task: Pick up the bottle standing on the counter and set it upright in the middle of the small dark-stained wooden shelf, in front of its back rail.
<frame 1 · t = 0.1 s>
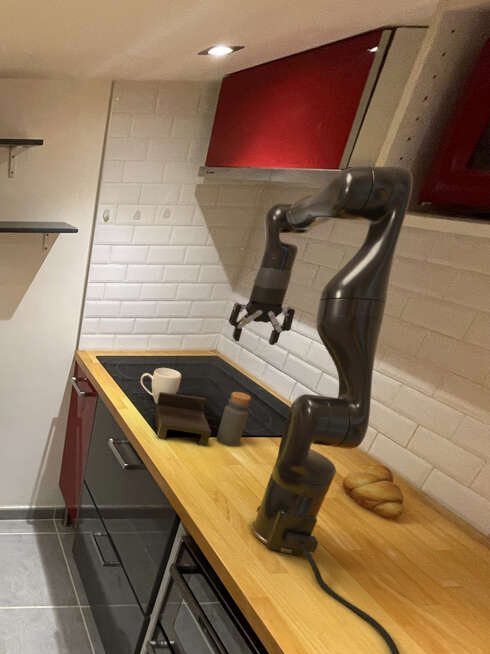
hand: (253, 342, 123), 29 cm above the worktop, tool pointing down, fingers open, 8 cm apart
bread roll: (368, 503, 106), on the worktop
mug: (155, 402, 153), on the worktop
shelf: (179, 431, 135), on the worktop
bottle: (227, 441, 131), on the worktop
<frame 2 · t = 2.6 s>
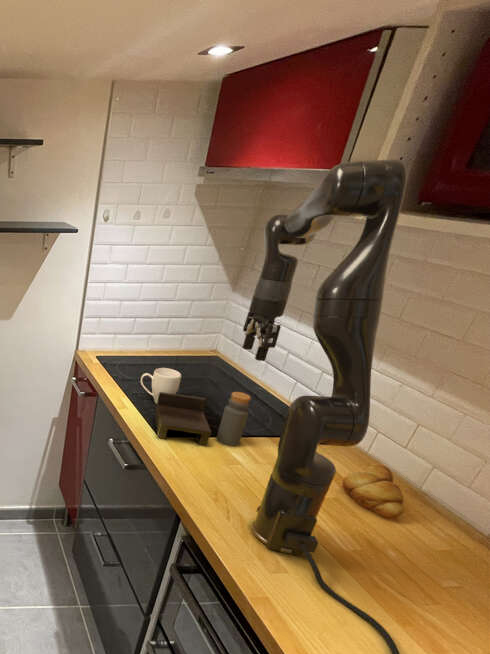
hand: (253, 354, 121), 27 cm above the worktop, tool pointing down, fingers open, 8 cm apart
nothing on the worktop moved.
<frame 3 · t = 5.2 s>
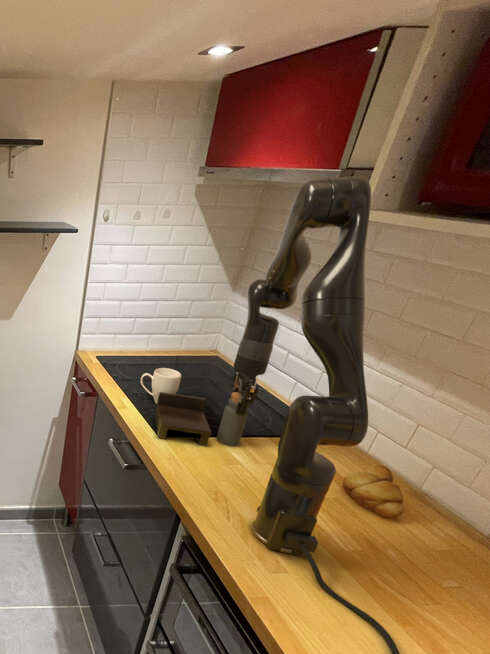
hand: (237, 409, 127), 11 cm above the worktop, tool pointing down, fingers closed on bottle, 5 cm apart
bottle: (227, 441, 131), on the worktop, touching gripper
everything else where it was.
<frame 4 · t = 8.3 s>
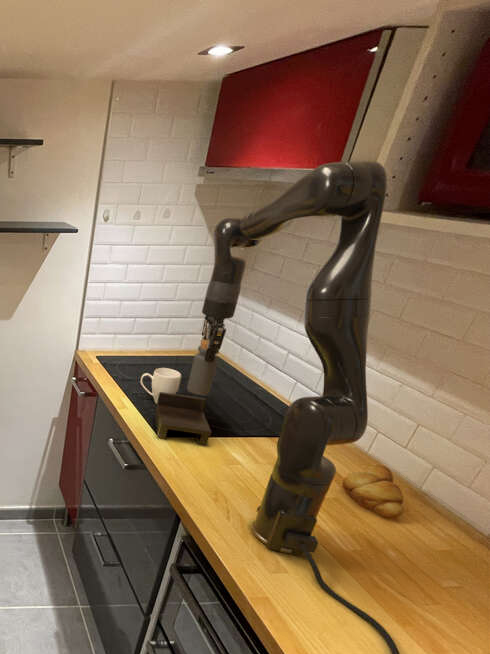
hand: (206, 356, 124), 25 cm above the worktop, tool pointing down, fingers closed on bottle, 5 cm apart
bottle: (197, 391, 128), point 14 cm above the worktop, touching gripper
everything else where it was.
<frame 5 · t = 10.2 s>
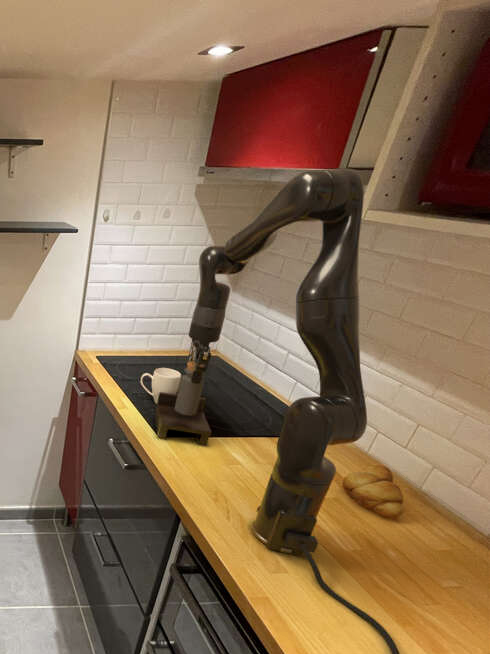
hand: (193, 378, 127), 18 cm above the worktop, tool pointing down, fingers closed on bottle, 5 cm apart
bottle: (185, 411, 131), point 8 cm above the worktop, touching gripper
everything else where it was.
when the fingers open (16 cm above the worktop, at t = 11.6 s): bottle stays where it is, resting on shelf.
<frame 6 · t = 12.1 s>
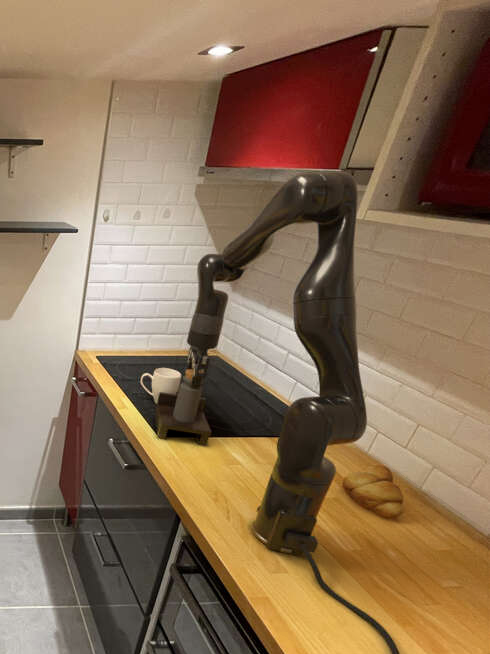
hand: (192, 382, 128), 17 cm above the worktop, tool pointing down, fingers open, 8 cm apart
bottle: (183, 419, 132), point 5 cm above the worktop, touching shelf
everything else where it was.
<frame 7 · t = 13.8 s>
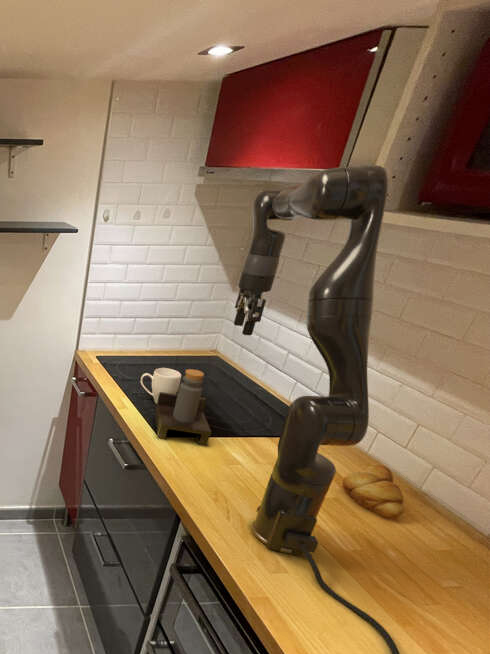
hand: (242, 329, 124), 32 cm above the worktop, tool pointing down, fingers open, 8 cm apart
nothing on the worktop moved.
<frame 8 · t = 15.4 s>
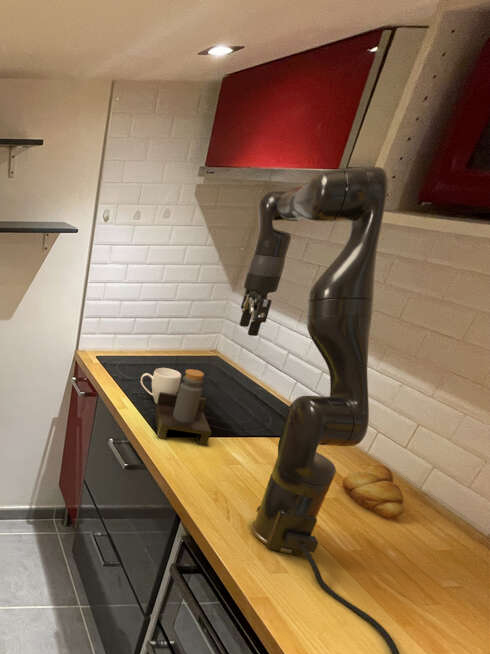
hand: (247, 330, 124), 32 cm above the worktop, tool pointing down, fingers open, 8 cm apart
nothing on the worktop moved.
at the end: bottle inside the target area on the shelf (0.6 cm from its centre), point 5.0 cm above the shelf's base; bottle tilted 0°; the gripper is holding nothing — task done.
